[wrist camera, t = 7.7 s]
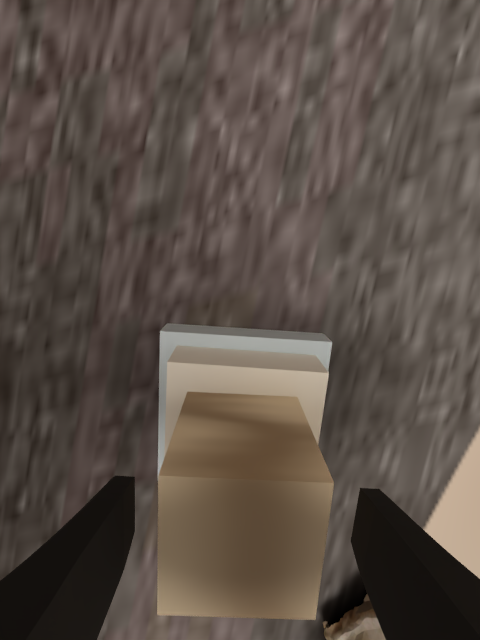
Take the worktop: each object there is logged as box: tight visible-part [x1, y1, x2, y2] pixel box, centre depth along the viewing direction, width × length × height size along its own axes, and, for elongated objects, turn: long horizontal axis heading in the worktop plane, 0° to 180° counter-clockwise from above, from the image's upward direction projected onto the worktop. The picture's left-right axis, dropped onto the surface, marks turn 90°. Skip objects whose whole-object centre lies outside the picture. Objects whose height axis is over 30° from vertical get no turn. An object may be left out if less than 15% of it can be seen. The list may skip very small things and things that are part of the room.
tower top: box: [164, 345, 329, 458], centre depth 15 cm, size 6×6×2 cm
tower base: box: [158, 323, 332, 475], centre depth 17 cm, size 8×8×2 cm
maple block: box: [157, 392, 334, 620], centre depth 11 cm, size 4×4×5 cm
